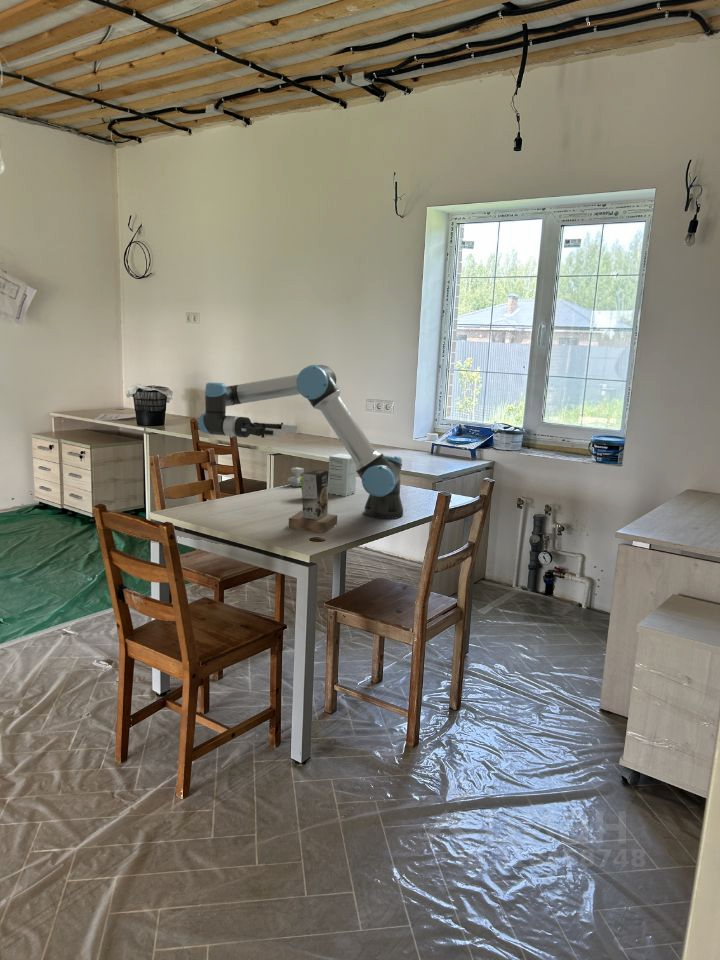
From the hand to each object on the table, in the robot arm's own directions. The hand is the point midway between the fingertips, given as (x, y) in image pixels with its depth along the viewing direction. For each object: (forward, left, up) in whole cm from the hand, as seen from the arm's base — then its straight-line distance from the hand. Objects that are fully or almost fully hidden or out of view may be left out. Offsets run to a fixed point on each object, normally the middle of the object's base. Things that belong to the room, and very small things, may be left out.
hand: (290, 431), depth 244 cm
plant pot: (+4, -31, -32) cm, 45 cm away
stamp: (+19, -52, -32) cm, 64 cm away
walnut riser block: (-14, +8, -33) cm, 36 cm away
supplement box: (-4, -48, -32) cm, 58 cm away
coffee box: (-14, +7, -29) cm, 33 cm away
